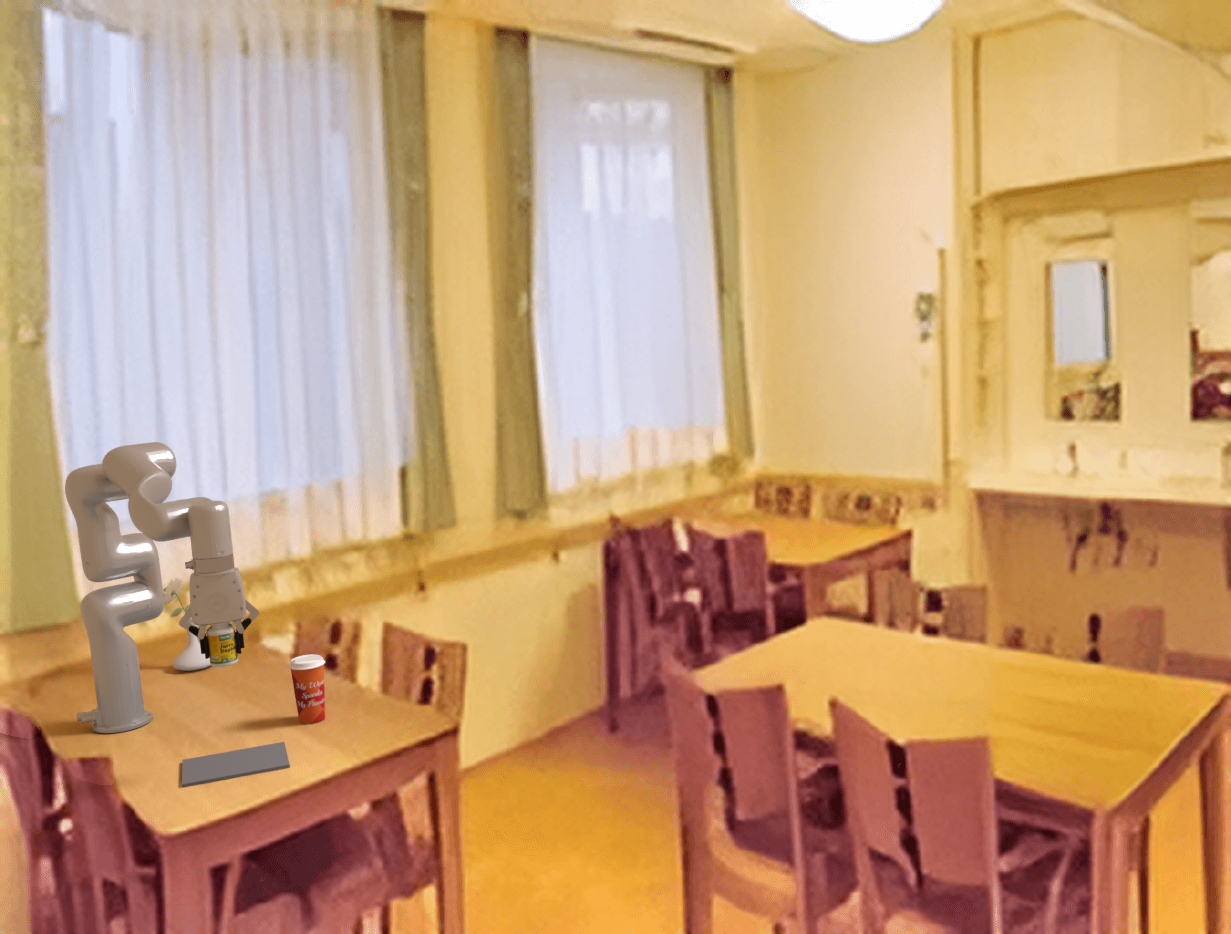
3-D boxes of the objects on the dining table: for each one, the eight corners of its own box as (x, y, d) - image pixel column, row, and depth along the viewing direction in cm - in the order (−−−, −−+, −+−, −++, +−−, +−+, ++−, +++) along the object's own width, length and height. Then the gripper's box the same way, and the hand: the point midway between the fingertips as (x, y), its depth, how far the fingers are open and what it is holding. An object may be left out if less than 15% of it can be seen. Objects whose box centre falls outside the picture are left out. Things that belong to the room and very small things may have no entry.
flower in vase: (202, 659, 304) (192, 568, 301) (227, 664, 297) (217, 572, 294) (158, 672, 294) (147, 579, 291) (183, 678, 287) (173, 583, 284)
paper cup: (298, 728, 244) (292, 666, 242) (291, 718, 251) (285, 658, 249) (334, 720, 248) (328, 659, 246) (326, 711, 254) (320, 651, 253)
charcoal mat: (182, 787, 215) (181, 784, 215) (182, 762, 228) (182, 759, 228) (289, 767, 222) (289, 764, 221) (284, 744, 235) (284, 741, 235)
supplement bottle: (226, 658, 225) (221, 611, 224) (244, 661, 222) (239, 614, 221) (204, 665, 220) (199, 618, 219) (221, 669, 218) (216, 621, 216)
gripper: (166, 574, 212) (176, 666, 215) (260, 562, 218) (269, 652, 220) (167, 566, 219) (177, 656, 222) (258, 555, 225) (267, 643, 227)
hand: (223, 653), depth 221 cm, fingers closed on supplement bottle, 5 cm apart
